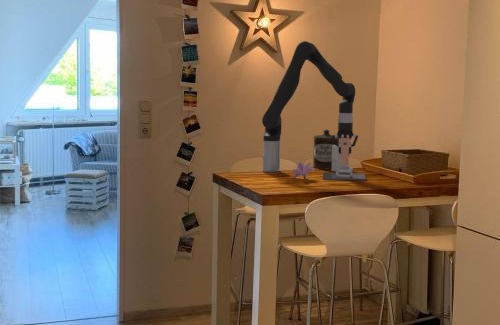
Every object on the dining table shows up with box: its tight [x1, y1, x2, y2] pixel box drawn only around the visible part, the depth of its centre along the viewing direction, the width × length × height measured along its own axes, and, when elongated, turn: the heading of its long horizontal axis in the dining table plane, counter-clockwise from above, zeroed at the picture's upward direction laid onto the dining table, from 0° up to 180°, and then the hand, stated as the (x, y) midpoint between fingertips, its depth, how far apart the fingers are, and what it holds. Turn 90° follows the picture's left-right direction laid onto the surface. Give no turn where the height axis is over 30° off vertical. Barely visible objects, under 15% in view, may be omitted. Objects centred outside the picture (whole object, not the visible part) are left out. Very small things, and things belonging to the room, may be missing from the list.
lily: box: [291, 161, 315, 181], centre depth 319 cm, size 12×12×10 cm
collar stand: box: [322, 166, 367, 182], centre depth 325 cm, size 22×16×5 cm
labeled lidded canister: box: [312, 129, 340, 170], centre depth 359 cm, size 15×15×22 cm
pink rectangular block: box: [341, 138, 350, 166], centre depth 323 cm, size 6×4×14 cm, turn 172°
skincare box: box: [331, 145, 350, 173], centre depth 345 cm, size 8×6×15 cm
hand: (344, 154), depth 324 cm, fingers closed on pink rectangular block, 4 cm apart
